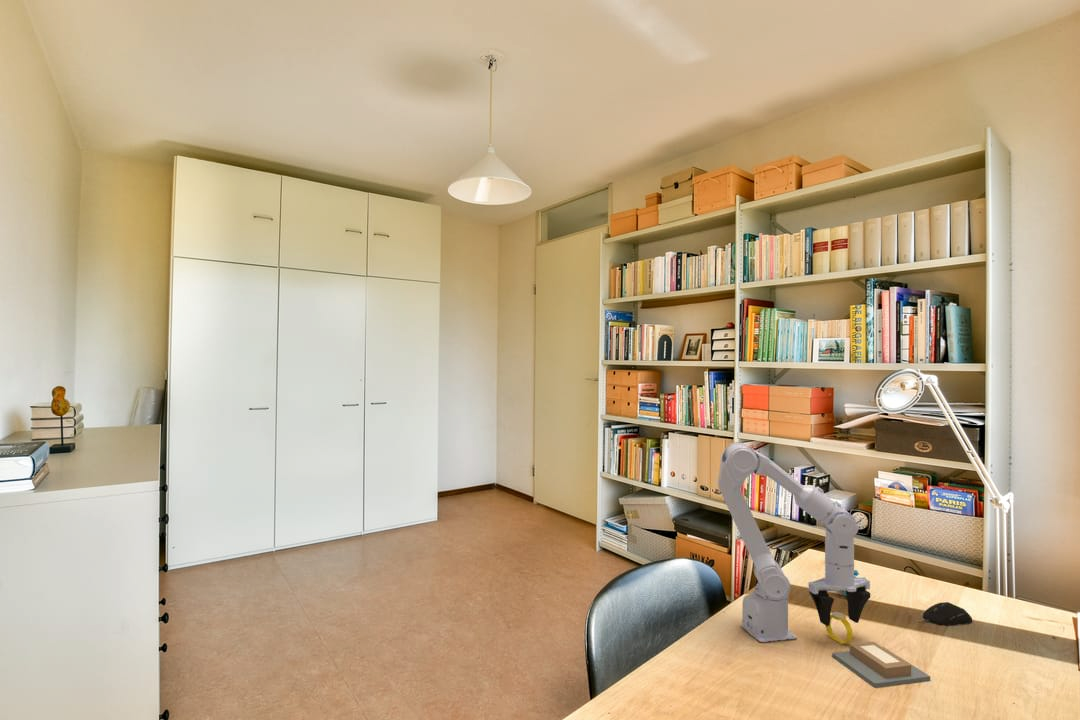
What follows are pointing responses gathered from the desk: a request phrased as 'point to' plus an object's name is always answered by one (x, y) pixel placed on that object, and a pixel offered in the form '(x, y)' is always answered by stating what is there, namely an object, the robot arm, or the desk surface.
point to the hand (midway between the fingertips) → (839, 622)
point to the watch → (849, 630)
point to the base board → (876, 676)
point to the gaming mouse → (946, 614)
